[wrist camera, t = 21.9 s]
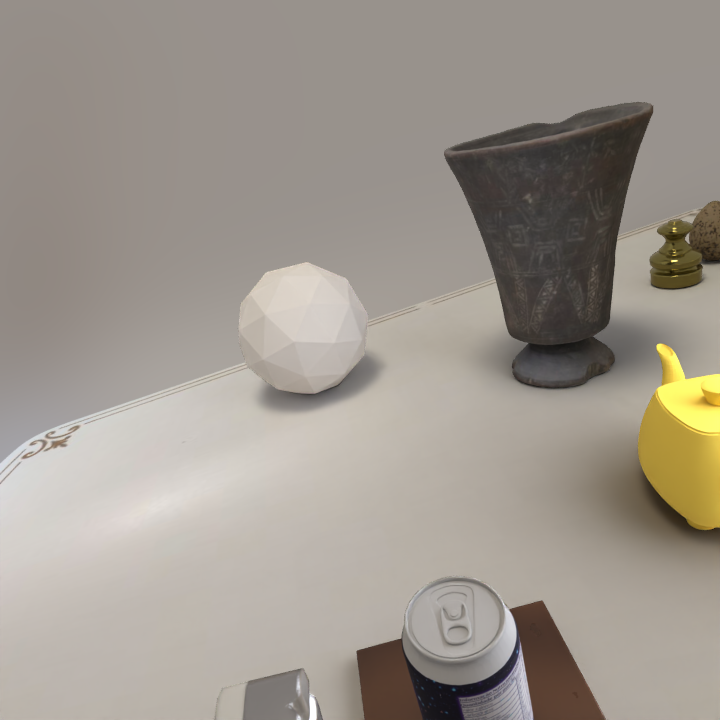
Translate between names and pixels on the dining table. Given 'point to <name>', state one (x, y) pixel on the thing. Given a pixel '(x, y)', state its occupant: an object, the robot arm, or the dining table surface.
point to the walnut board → (542, 666)
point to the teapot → (684, 442)
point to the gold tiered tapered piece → (676, 258)
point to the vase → (554, 231)
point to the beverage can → (464, 653)
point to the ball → (302, 329)
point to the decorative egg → (707, 231)
